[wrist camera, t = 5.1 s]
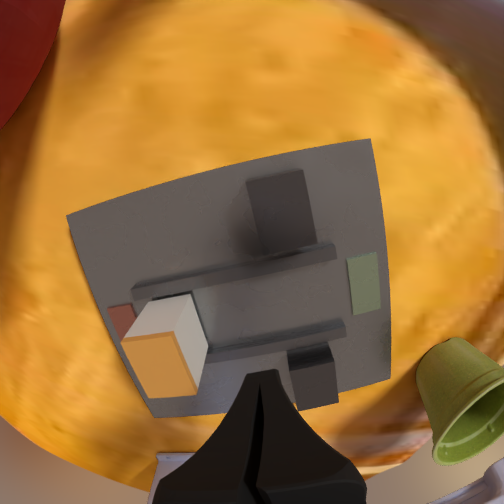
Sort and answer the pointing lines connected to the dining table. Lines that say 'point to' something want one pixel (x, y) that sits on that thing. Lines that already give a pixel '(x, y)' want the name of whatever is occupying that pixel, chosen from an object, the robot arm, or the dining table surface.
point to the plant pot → (461, 400)
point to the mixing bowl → (24, 47)
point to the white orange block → (167, 347)
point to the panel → (254, 272)
